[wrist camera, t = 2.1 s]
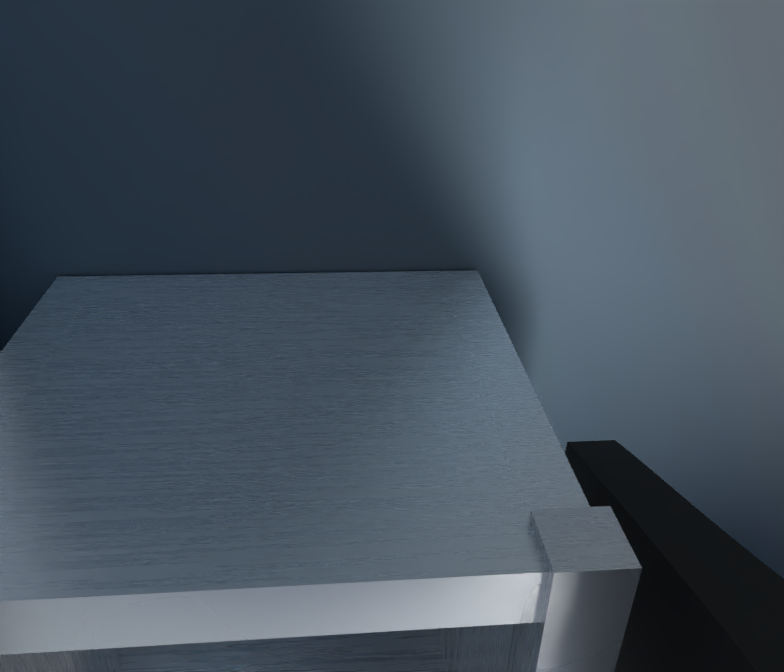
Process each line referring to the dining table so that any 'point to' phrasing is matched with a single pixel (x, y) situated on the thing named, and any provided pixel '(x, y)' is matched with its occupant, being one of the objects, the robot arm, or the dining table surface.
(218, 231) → the dining table surface
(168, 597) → the white boxy piece
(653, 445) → the dining table surface
